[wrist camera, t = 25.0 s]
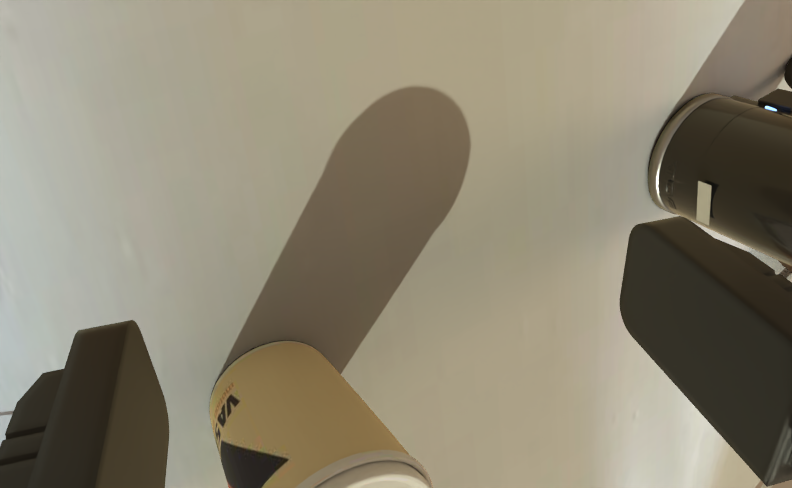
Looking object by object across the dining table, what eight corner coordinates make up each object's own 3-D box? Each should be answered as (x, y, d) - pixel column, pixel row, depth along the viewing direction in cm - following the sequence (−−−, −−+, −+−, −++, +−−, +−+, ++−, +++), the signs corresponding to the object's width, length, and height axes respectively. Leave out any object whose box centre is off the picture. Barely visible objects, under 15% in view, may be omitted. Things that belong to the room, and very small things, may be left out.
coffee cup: (184, 352, 34) (250, 518, 25) (341, 311, 38) (448, 440, 29) (202, 475, 38) (265, 657, 29) (341, 426, 42) (435, 571, 33)
